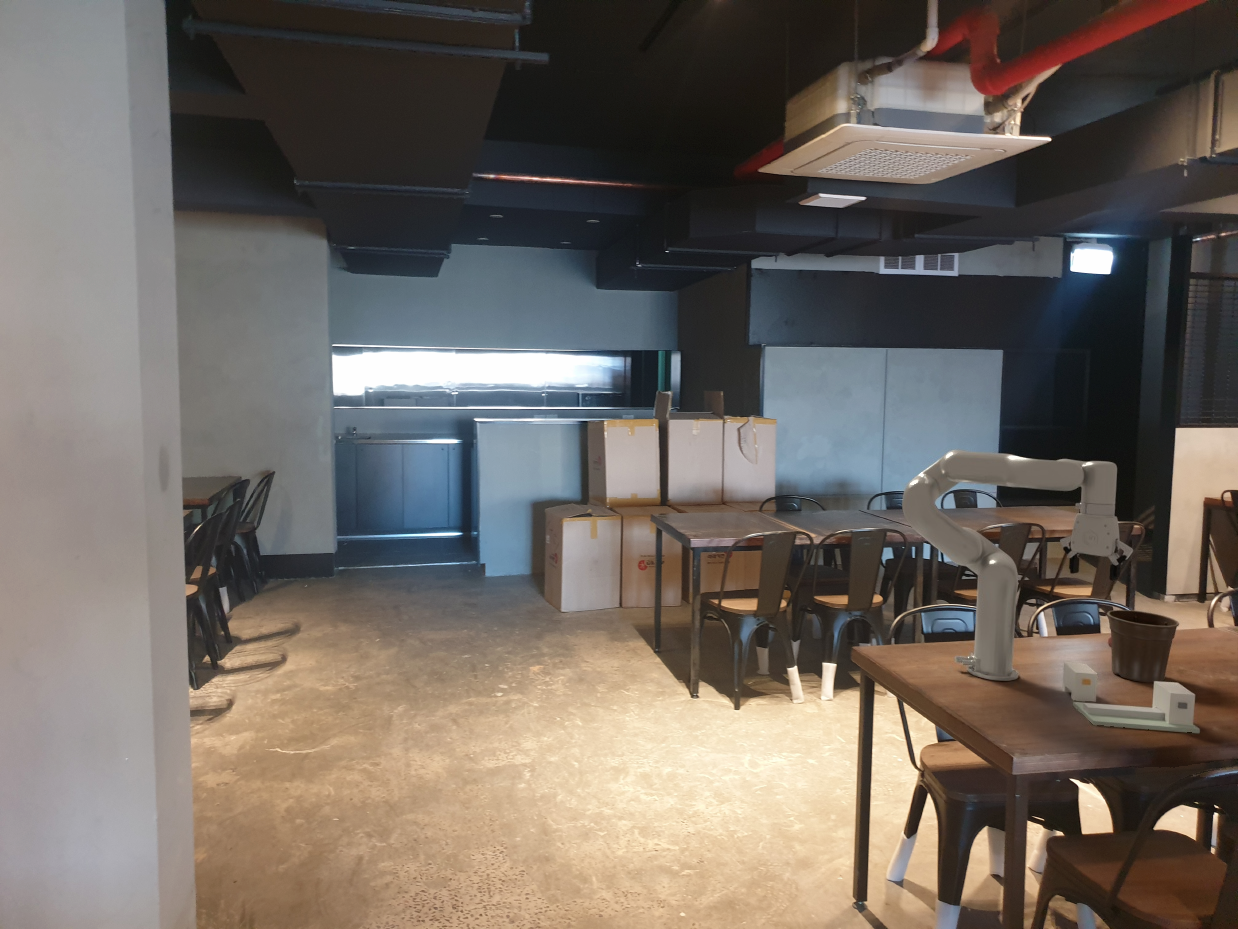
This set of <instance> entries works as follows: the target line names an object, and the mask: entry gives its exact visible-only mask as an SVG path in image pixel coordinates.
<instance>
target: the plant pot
mask: <svg viewBox="0 0 1238 929" xmlns="http://www.w3.org/2000/svg"><path fill="white" fill-rule="evenodd" d="M1107 616H1108V617H1109V618H1108V621H1109V622H1108V623H1109V629H1110V635H1111V636H1110V637H1111V647H1110V650H1111V672H1112V673H1113V674H1114V675H1117V676H1118V675H1119V676H1120V677H1121V678H1123V679H1126V680H1130V681H1134V682H1138V683H1139V682H1140V683H1151V684H1152V683H1154V681H1159V682H1165V678H1166V671H1167V667H1168V663H1169V657H1170V654H1171V652H1170V651H1171V648H1172V643H1173V639H1174V638H1175V636H1176V632H1177V628H1178V627H1179V626H1180V622H1179V621H1178V620H1177V619H1174V618H1171V617H1169V616H1165V615H1162V614H1158V613H1154V612H1153V613H1152V612H1149V611H1148V612H1147V611H1140V610H1131V609H1113V610H1109V611H1107Z"/></svg>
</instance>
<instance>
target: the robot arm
mask: <svg viewBox="0 0 1238 929" xmlns="http://www.w3.org/2000/svg"><path fill="white" fill-rule="evenodd" d="M1117 474H1118V467H1117V464H1116V463H1114V462H1111V461H1105V460H1104V461H1103V460H1102V461H1101V460H1090V461H1082V460H1075V459H1068V458H1062V459H1061V458H1060V459H1057V460H1050V459H1036V458H1028V457H1022V456H1018V455H1015V454H1010V453H1001V452H1000V453H998V452H997V453H996V452H981V451H980V452H979V451H965V450H962V449H952V450H949V451H947V453H945V454H944V455H943V456H942V457H940V458H939V459H938V460H937V461H935V462H934V463H933V464H931V465H930V466H928V467H927V468H925V469H924V470H923V471H921V472H920V473H919V474H918V475H916V476H915V477H913V478H912V479H911V480H910V481H909V482H908V483H907V484H906V486H905V488H904V492H903V494H902V501H901V502H902V503H901V504H902V507H901V508H902V511H903V515H904V518H905V520H906V522H907V523H908V525H910V527H911V528H912V530H914V531H915V532H916V533H917V534H919V535H920V536H921V537H923V538H924V539H925V540H926V541H927V542H928V543H929V544H930V545H931V546H933V547H934V548H936V549H937V550H938V551H939V552H941V553H942V554H943V555H945V556H946V558H948V559H949V560H950V561H951V562H952V563H954V564H955V565H958V566H963V567H967V568H968V569H969V570H970V571H971V572H973V573H975V574H976V575H977V588H976V589H977V590H976V591H977V593H976V610H975V615H976V616H975V629H974V631H975V632H974V648H973V649H974V650H973V652H970V655H967V656H963V655H955V656H954V663H956V664H961V665H962V666H966V671H968V673H969V674H971V675H973V676H975V677H979V678H982V679H986V680H990V681H1000V682H1001V681H1004V682H1008V681H1015V680H1017V679H1018V678H1019V671H1018V670H1016V669H1015V668H1013V663H1014V662H1013V661H1014V644H1015V628H1016V627H1015V624H1016V608H1017V607H1016V606H1017V598H1018V596H1017V595H1018V587H1019V574H1018V568H1017V565H1016V563H1015V561H1014V560H1013V558H1012V557H1011V556H1010V555H1009V554H1007V553H1006V552H1004V551H1003V550H1002V549H1001V548H999V547H998V546H997V545H996V544H994V543H993V542H992V541H990V540H989V539H987V538H986V537H985V536H984V535H982V534H981V533H980V532H978V531H977V530H974V529H972V528H970V527H966V526H960V525H959V524H957V522H955V521H954V520H952V519H951V518H950V517H949V516H948V515H946V514H945V513H943V512H942V511H941V510H939V509H938V507H937V506H936V501H937V500H938V499H939V498H941V497H942V496H943V495H944V494H946V493H947V492H948V491H950V490H952V489H953V488H954V487H956V486H957V485H958V484H960V483H961V484H962V483H963V484H976V485H977V484H978V485H979V484H980V485H991V486H1001V487H1011V488H1026V489H1035V490H1047V491H1048V490H1049V491H1060V492H1061V491H1063V492H1068V491H1073V490H1076V489H1077V488H1079V487H1081V498H1080V499H1081V500H1080V501H1079V502H1076V503H1075V507H1074V508H1075V509H1079V512H1080V513H1079V512H1078V513H1076V515H1075V519H1074V523H1073V526H1072V532H1071V535H1068V536H1066V537H1063V538H1060V540H1059V541H1060V545H1061V546H1062V547H1061V548H1062V550H1063V551H1064V553H1066V555H1067V558H1069V559H1068V560H1069V562H1068V563H1069V564H1068V570H1069V573H1070V574H1072V575H1073V574H1077V573H1079V572H1080V571H1079V570H1080V557H1079V555H1080V554H1086V555H1091V556H1099V557H1107V558H1108V559H1109V560H1110V562H1111V564H1110V566H1109V580H1110V581H1113V582H1114V581H1117V580H1118V579H1119V578H1120V576H1121V565H1123V563H1125V562H1126V561H1127V560H1129V558H1130V556H1131V555H1132V554H1133V552H1134V549H1133V548H1132V547H1131V546H1129V545H1127V544H1126V543H1124V542H1123V541H1121V540H1120V528H1119V520H1118V517H1117V516H1115V512H1116V511H1115V510H1116V493H1117V478H1118V477H1117ZM1069 543H1070V544H1069ZM1120 549H1121V550H1122V551H1123V554H1122V555H1119V552H1120Z"/></svg>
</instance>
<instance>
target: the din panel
mask: <svg viewBox="0 0 1238 929" xmlns="http://www.w3.org/2000/svg"><path fill="white" fill-rule="evenodd" d="M1152 694H1153V695H1152V707H1147V706H1134V705H1133V706H1132V705H1121V704H1120V705H1118V704H1106V703H1096V702H1082V701H1073V707H1074V708H1075V709H1076V710H1077V709H1078V710H1077V711H1078V712H1079V713H1080V714H1081V713H1082V714H1083V715H1084V716H1085V717H1086V718H1087V719H1088V720H1089V721H1090V722H1091V723H1092V724H1093V725H1092V724H1091V723H1090V722H1089V721H1088V720H1087V719H1086V718H1085V717H1084V716H1083V715H1082V714H1081V715H1082V716H1083V717H1084V718H1085V719H1086V720H1087V721H1088V722H1089V723H1090V724H1091V725H1092V726H1097V725H1104V726H1103V727H1110V726H1114V727H1113V728H1123V727H1125V728H1126V729H1137V730H1148V729H1149V730H1152V731H1163V732H1176V733H1177V732H1179V733H1187V732H1192V733H1191V734H1200V732H1201V728H1199V727H1198V726H1197V725H1195V724H1194V717H1195V716H1194V713H1195V701H1196V694H1195V693H1193V692H1192V691H1190V690H1189V689H1187V688H1186V687H1184V686H1183V685H1182V684H1180V683H1179V682H1173V681H1172V682H1171V681H1162V682H1159V681H1154V682H1153V693H1152Z"/></svg>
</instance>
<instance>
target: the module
mask: <svg viewBox="0 0 1238 929" xmlns="http://www.w3.org/2000/svg"><path fill="white" fill-rule="evenodd" d="M1062 669H1063V672H1062V684H1061V685H1062V689H1061V690H1062V691H1063V692H1065V693H1071V696H1070V698H1071V700H1073V701H1074V700H1076V701H1075V702H1085V701H1095V702H1094V703H1096V702H1097V689H1098V688H1097V687H1098V677H1099V676H1098V673H1097V672H1096V671H1094V670H1093V669H1092V668H1091V667H1090V666H1088V665H1087V663H1079V662H1066V661H1065V662H1063V668H1062Z"/></svg>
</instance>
